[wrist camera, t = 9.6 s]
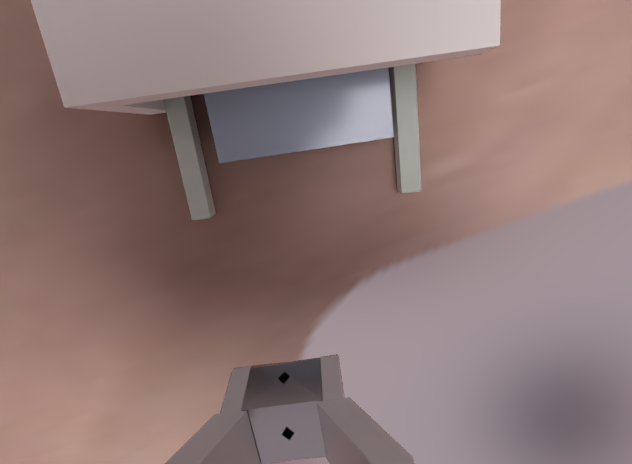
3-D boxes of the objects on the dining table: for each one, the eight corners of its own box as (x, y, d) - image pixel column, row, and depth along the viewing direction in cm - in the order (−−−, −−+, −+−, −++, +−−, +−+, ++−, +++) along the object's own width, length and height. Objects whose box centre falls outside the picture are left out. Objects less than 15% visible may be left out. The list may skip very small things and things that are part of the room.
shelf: (96, -103, 15) (-52, -258, 9) (427, -158, 15) (505, -361, 9) (176, 218, 19) (112, 260, 13) (438, 184, 19) (497, 212, 13)
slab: (187, -62, 16) (160, -103, 13) (360, -91, 16) (371, -141, 13) (233, 158, 19) (219, 163, 16) (381, 136, 19) (394, 137, 16)
